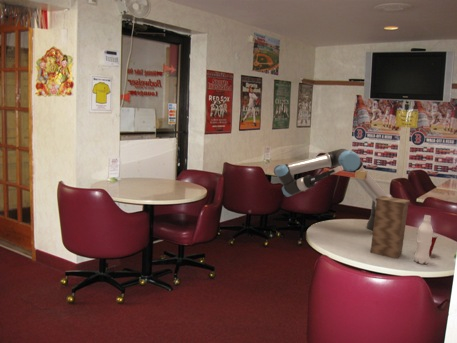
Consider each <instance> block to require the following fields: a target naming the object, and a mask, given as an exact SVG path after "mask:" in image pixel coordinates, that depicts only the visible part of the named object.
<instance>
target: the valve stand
mask: <svg viewBox="0 0 457 343" xmlns="http://www.w3.org/2000/svg"><path fill="white" fill-rule="evenodd" d="M376 201H377V203H376V211H375V219H374V227H373V230H372V238H371V244H370V245H371V247H370V253H371V254H375V255H379V256H385V257H389V258H392V259H399V257H401V255H402V254H403V246H404V238H405V233H406V232H405V231H406V226H407V225H406V223H407V217H408V216H407V215H408V210H409V204H410V202H411V200H410V199H402V198H396V197H393V196H392V197H387V196H380V197H378V198H376Z"/></svg>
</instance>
